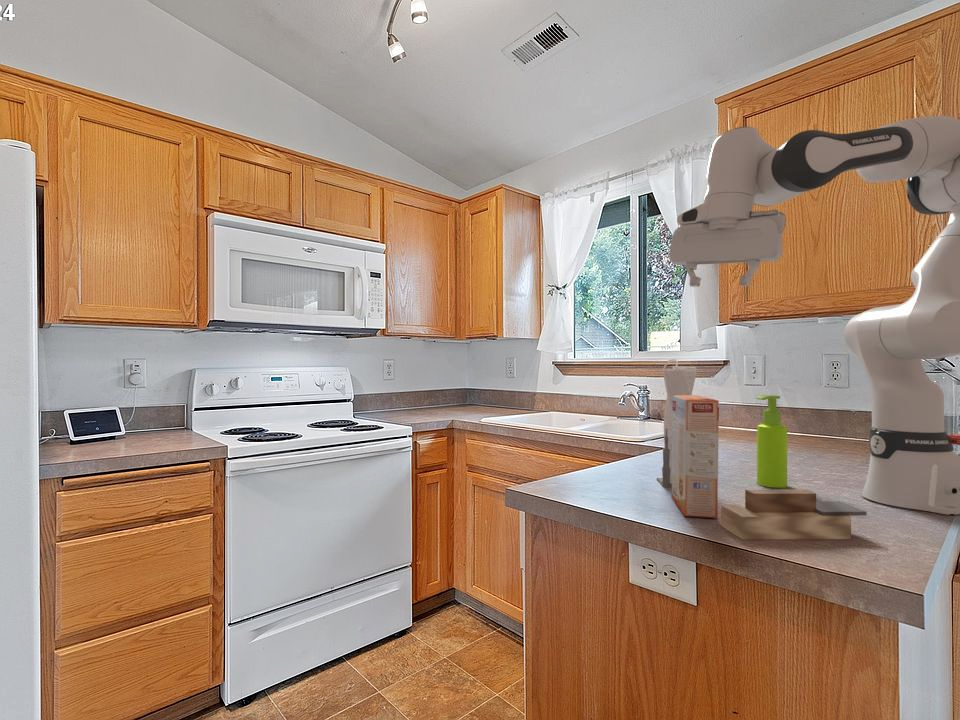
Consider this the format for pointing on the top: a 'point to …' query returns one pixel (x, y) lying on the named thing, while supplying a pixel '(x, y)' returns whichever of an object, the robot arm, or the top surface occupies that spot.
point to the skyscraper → (676, 384)
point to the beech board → (783, 524)
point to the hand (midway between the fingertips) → (718, 286)
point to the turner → (796, 503)
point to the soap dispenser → (771, 447)
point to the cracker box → (695, 455)
